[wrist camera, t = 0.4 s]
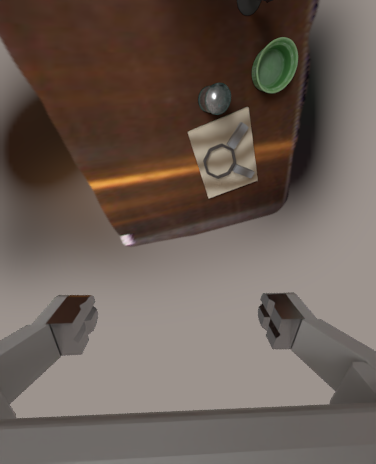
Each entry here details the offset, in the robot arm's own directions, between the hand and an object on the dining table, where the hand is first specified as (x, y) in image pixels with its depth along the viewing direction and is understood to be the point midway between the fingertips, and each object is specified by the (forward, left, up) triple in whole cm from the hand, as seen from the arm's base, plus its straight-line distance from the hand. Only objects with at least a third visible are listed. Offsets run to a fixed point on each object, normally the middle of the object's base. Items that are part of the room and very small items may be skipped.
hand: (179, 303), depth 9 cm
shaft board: (-6, +16, -49) cm, 52 cm away
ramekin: (-26, +10, -50) cm, 57 cm away
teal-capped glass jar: (-13, +3, -49) cm, 51 cm away
